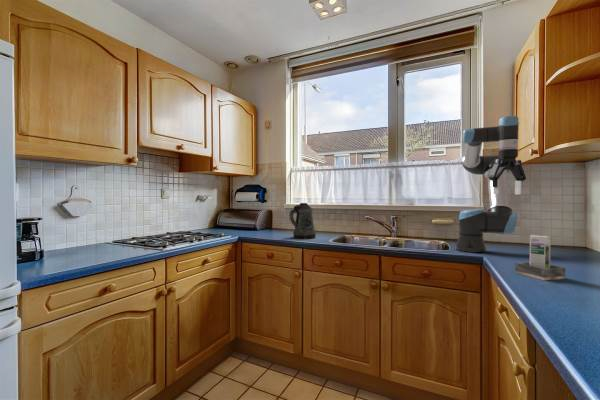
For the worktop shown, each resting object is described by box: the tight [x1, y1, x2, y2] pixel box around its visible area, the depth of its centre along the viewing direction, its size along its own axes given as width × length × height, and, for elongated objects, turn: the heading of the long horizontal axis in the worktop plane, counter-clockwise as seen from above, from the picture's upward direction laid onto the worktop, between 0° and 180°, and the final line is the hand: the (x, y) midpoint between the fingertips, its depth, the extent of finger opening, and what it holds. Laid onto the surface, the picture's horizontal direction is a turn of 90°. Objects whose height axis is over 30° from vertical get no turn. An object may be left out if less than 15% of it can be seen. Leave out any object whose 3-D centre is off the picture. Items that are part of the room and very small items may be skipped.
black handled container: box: [289, 202, 317, 240], centre depth 207 cm, size 16×19×25 cm
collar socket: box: [514, 261, 566, 281], centre depth 110 cm, size 11×11×4 cm
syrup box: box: [529, 234, 552, 269], centre depth 110 cm, size 6×6×14 cm
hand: (507, 194), depth 136 cm, fingers open, 13 cm apart
